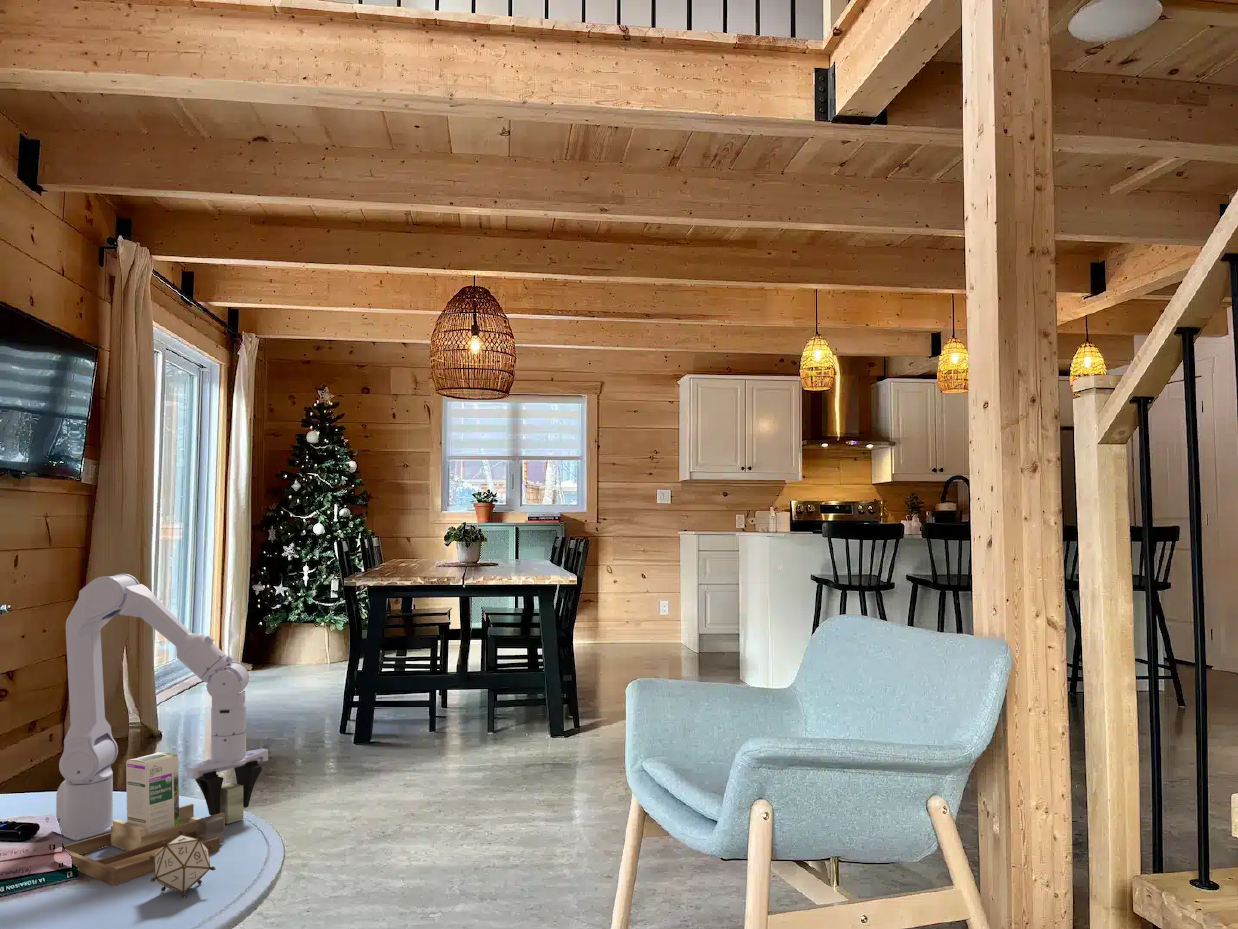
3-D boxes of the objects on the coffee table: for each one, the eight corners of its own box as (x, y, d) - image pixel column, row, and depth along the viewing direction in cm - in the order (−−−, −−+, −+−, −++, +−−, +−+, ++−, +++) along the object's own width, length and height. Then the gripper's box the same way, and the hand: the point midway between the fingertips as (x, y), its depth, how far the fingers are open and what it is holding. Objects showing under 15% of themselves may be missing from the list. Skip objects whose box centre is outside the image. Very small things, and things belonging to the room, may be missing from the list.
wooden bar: (105, 871, 143) (105, 844, 143) (210, 838, 157) (210, 814, 157) (121, 878, 140) (121, 850, 140) (226, 843, 154) (226, 818, 154)
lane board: (53, 861, 149) (53, 848, 149) (158, 830, 162) (158, 819, 163) (113, 885, 138) (113, 871, 138) (219, 850, 152) (219, 838, 152)
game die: (175, 914, 136) (172, 846, 142) (229, 892, 136) (224, 824, 142) (135, 905, 129) (134, 833, 135) (192, 882, 129) (189, 811, 135)
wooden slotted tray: (110, 844, 155) (110, 808, 155) (220, 812, 171) (220, 780, 171) (143, 856, 149) (143, 819, 149) (253, 822, 165) (253, 788, 165)
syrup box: (147, 854, 151) (147, 762, 152) (125, 849, 154) (125, 758, 155) (180, 843, 156) (180, 754, 156) (158, 838, 159) (158, 750, 159)
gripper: (202, 744, 159) (203, 826, 159) (278, 727, 171) (278, 803, 170) (180, 739, 163) (180, 819, 163) (255, 723, 175) (255, 797, 174)
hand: (229, 811), depth 167 cm, fingers open, 5 cm apart
